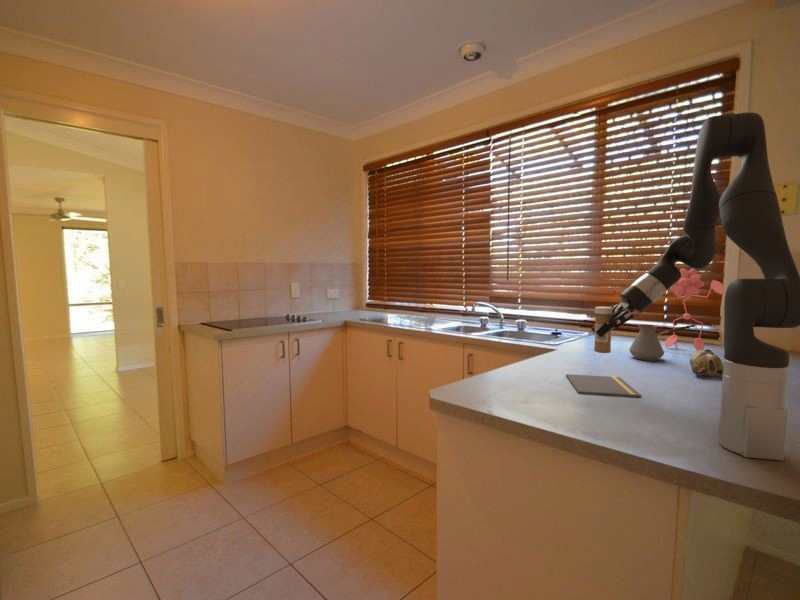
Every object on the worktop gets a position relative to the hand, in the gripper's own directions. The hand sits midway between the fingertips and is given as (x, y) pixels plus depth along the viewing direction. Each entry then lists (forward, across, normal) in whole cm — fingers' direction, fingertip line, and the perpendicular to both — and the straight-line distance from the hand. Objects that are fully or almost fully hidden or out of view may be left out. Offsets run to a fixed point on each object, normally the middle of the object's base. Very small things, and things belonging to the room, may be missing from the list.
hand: (595, 333), depth 117 cm
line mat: (+10, 0, +12) cm, 16 cm away
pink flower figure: (-22, -59, +46) cm, 78 cm away
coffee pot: (-12, -39, +35) cm, 53 cm away
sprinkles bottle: (+3, 0, +5) cm, 6 cm away
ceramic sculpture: (-16, -21, +40) cm, 48 cm away
